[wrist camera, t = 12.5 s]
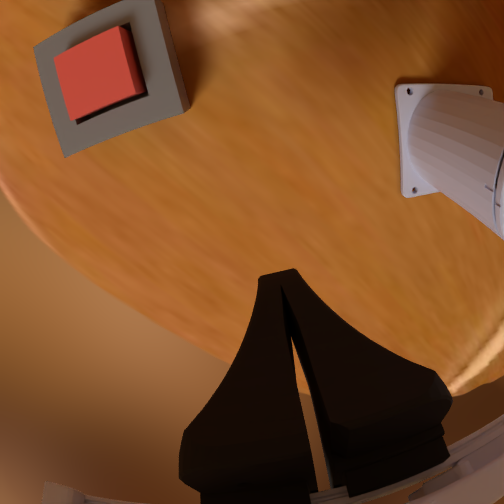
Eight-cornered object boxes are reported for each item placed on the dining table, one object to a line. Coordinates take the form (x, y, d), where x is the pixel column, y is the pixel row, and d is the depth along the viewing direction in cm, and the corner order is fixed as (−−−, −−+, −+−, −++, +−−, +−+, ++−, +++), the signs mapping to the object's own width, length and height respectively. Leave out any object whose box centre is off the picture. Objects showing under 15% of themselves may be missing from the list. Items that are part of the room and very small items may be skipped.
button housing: (163, 3, 12) (151, -11, 10) (190, 108, 16) (183, 113, 13) (58, 48, 13) (33, 47, 10) (86, 145, 16) (64, 157, 14)
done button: (132, 32, 12) (118, 25, 10) (148, 91, 14) (135, 93, 12) (74, 58, 12) (53, 57, 10) (89, 114, 14) (70, 121, 12)
